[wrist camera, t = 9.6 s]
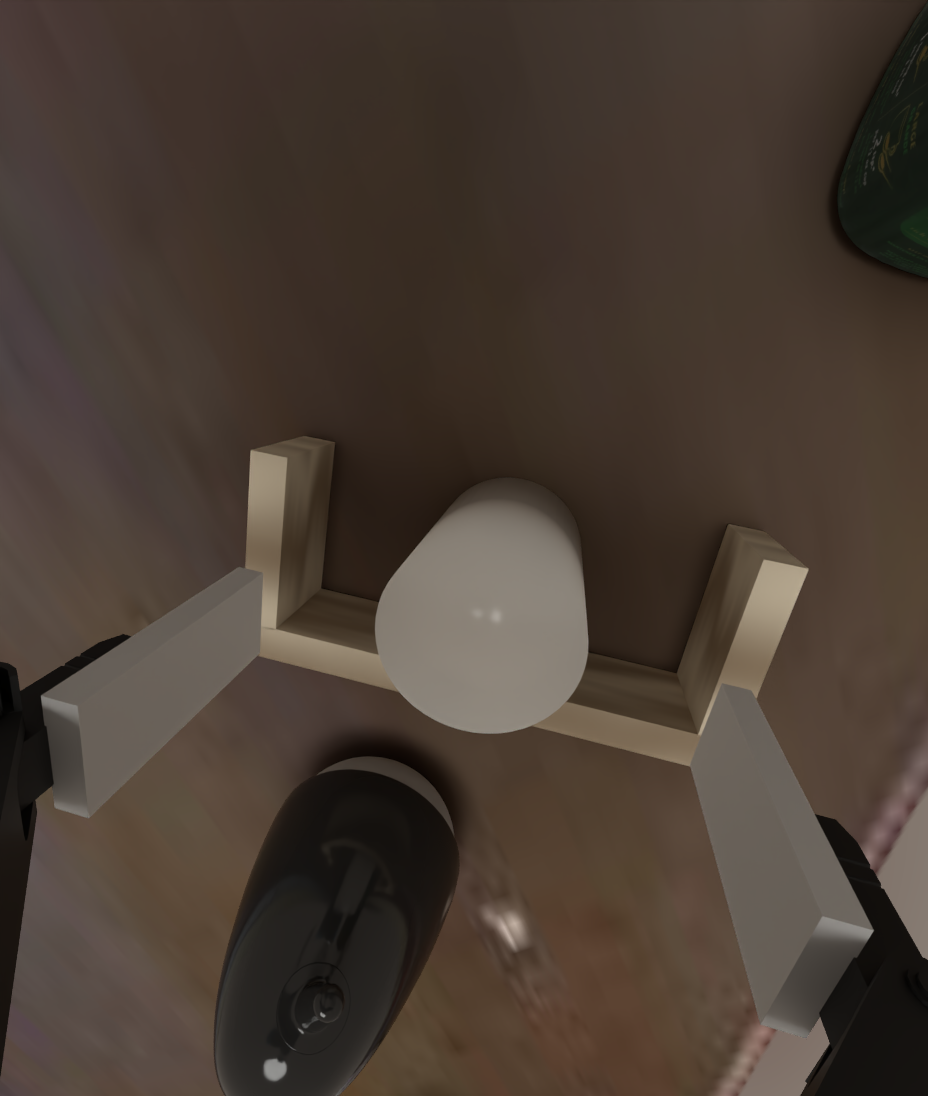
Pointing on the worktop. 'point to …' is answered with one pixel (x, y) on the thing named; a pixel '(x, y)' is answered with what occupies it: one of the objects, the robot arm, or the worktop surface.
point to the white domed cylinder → (489, 611)
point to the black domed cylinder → (333, 929)
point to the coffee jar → (892, 163)
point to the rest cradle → (607, 683)
